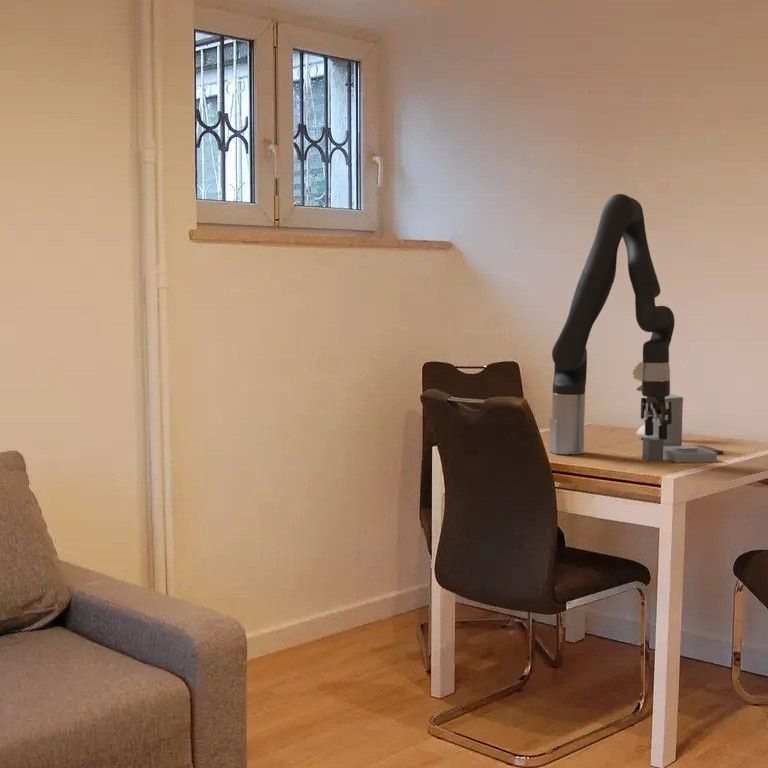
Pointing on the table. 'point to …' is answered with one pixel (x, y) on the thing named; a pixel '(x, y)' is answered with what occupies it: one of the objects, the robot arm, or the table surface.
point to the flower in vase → (638, 375)
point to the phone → (710, 449)
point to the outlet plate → (688, 454)
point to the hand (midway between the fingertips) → (655, 437)
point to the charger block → (652, 449)
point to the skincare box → (676, 426)
